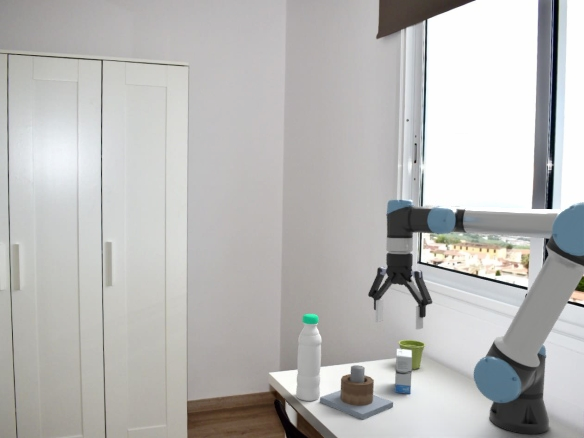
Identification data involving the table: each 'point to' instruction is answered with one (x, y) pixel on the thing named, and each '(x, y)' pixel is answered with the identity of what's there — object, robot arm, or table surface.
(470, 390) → the table surface
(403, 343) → the plant pot
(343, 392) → the collar
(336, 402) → the stand
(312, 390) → the water bottle
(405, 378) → the ink box
